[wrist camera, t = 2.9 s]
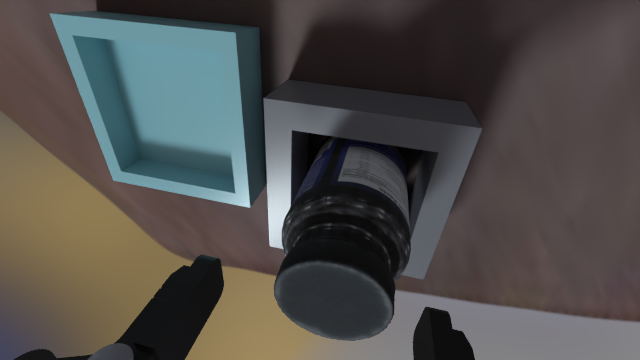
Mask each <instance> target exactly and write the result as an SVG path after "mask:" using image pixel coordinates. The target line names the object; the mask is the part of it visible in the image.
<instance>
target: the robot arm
mask: <svg viewBox="0 0 640 360" xmlns="http://www.w3.org/2000/svg"><path fill="white" fill-rule="evenodd" d="M223 287H224V280H223V273H222V266H221V260H220V259H219V258H214V257H210V256H206V255H200V256H198V257H197V258H196V260H195V261H194V262H193V264H192V265H191V266H190V267H189V266H185V265H184V266H183V267H181V268H180V269H178V270H177V271H175V272H174V273H172V274H171V275H170V276H169V278H168V279H167V280H166V281H165V283H164V284H163V285H162V288H161V289H159V290H158V292H157V293H156V294H155V295H154V298H153V299H151V300H150V302H149V303H148V304H147V306H146V307H145V308H144V309H143V310H142V312H141V313H140V314H139V315H138V317H137V318H136V319H135V320H134V322H133V323H132V324H131V325H130V327H129V328H128V329H127V331H126V332H125V333H124V334H123V335H122V337H121V338H120V339H119V340H118V341H117V342H115V343H114V344H111V345H108V346H105V347H103V348H102V349H100V350H98V351H97V352H95V353H94V354H93V355H86V356H76V357H65V358H56V357H55V356H54V354H53V353H52V352H51V351H49V350H46V349H38V350H33V351H30V352H27V353H25V354H23V355H21V356H19V357H17V358H16V359H14V360H185V358H186V356H187V355H188V353H189V351H190V349H191V348H192V346H193V344H194V342H195V341H196V339H197V337H198V335H199V334H200V332H201V330H202V328H203V327H204V325H205V323H206V322H207V319H208V318H209V316H210V315H211V313H212V311H213V309H214V307H215V306H216V304H217V302H218V301H219V298H220V297H221V294H222V291H223ZM413 355H414V360H475V358H474V354H473V349H472V347H471V345H470V343H469V342H468V340H467V338H466V337H465V335H464V333H463V332H462V331H458V330H454V329H452V324H451V318H450V315H449V313H448V312H447V311H443V310H439V309H435V308H430V307H425V309H424V311H423V313H422V315H421V317H420V320H419V322H418V324H417V326H416V329H415V331H414V337H413Z"/></svg>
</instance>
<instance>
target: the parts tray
mask: <svg viewBox="0 0 640 360" xmlns="http://www.w3.org/2000/svg"><path fill="white" fill-rule="evenodd" d="M50 16H51V18H52V21H53V24H54V26H55V29H56V31H57V34H58V37H59V39H60V42H61V44H62V47H63V50H64V52H65V55H66V58H67V60H68V63H69V65H70V68H71V71H72V73H73V76H74V78H75V81H76V84H77V86H78V89H79V92H80V94H81V97H82V99H83V102H84V105H85V107H86V110H87V113H88V115H89V118H90V120H91V123H92V126H93V128H94V131H95V133H96V136H97V139H98V141H99V144H100V147H101V149H102V152H103V154H104V157H105V160H106V162H107V165H108V168H109V170H110V173H111V175H112V178H113V180H114V181H119V182H124V183H129V184H134V185H139V186H144V187H149V188H154V189H159V190H164V191H169V192H174V193H179V194H184V195H189V196H194V197H199V198H204V199H209V200H214V201H219V202H224V203H229V204H234V205H239V206H244V207H249V208H250V207H251V206H252V204H253V203H254V201H255V200H256V199H257V197H258V196H259V194H260V193H261V191H262V190H263V189H264V187H265V186H266V170H265V147H264V124H263V101H262V78H261V55H260V33H259V27H253V26H243V25H232V24H222V23H212V22H202V21H192V20H182V19H172V18H162V17H152V16H142V15H132V14H122V13H112V12H102V11H85V12H66V13H50Z"/></svg>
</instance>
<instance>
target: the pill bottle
mask: <svg viewBox="0 0 640 360" xmlns="http://www.w3.org/2000/svg"><path fill="white" fill-rule="evenodd" d="M282 246H283V249H284V252H285V256H286V257H285V259H284V260H283V262H282V264H281V266H280V270H279V272H278V274H277V277H276V280H275V284H274V295H275V299H276V301H277V303H278V306H279V307H280V308H281V310H282V312H283V313H285V315H286V316H287V317H288V318H290V320H292V321H293V322H295V323H296V324H297V325H299V326H300V327H302V328H304V329H306V330H307V331H310V332H312V333H314V334H316V335H320V336H322V337H326V338H331V339H337V340H348V341H349V340H351V341H355V340H360V339H365V338H370V337H372V336H375V335H377V334H379V333H380V332H382V331H383V330H384V329H385V328H387V326H388V324H389V323H390V322H391V320H392V318H393V315H394V295H395V283H394V282H396V280H397V279H398V278H399V277H400V276H401V275H402V274H403V272H404V270H405V268H406V266H407V264H408V262H409V257H410V251H411V242H410V226H409V211H408V193H407V177H406V164H405V160H404V157H403V154H402V152H401V150H400V148H399V147H398V146H392V145H386V144H379V143H373V142H366V141H360V140H353V139H347V138H340V137H334V136H332V137H330V138H329V139H328V140H327V141H326V142H325V143H324V144H323V145H322V147H321V148H320V150H319V152H318V154H317V156H316V158H315V160H314V162H313V164H312V166H311V168H310V170H309V172H308V174H307V176H306V178H305V179H304V181H303V183H302V186H301V187H300V189H299V191H298V194H297V196H296V198H295V200H294V202H293V204H292V206H291V207H290V209H289V211H288V213H287V215H286V217H285V219H284V223H283V227H282Z"/></svg>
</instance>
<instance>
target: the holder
mask: <svg viewBox="0 0 640 360" xmlns="http://www.w3.org/2000/svg"><path fill="white" fill-rule="evenodd" d="M264 121H265V145H266V169H267V193H268V218H269V242H270V246H272V247H276V248H281V249H283V246H282V227H283V223H284V219H285V217H286V215H287V213H288V211H289V209H290V207H291V206H292V204H293V202H294V200H295V198H296V196H297V194H298V191H299V189H300V187H301V186H302V183H303V181H304V179H305V178H306V176H307V168H308V146H309V133H314V134H321V135H327V136H334V137H340V138H347V139H353V140H360V141H366V142H373V143H379V144H386V145H392V146H399V147H405V148H412V149H419V150H423V154H422V157H421V161H420V164H419V168H418V171H417V175H416V178H415V182H414V185H413V189H412V192H411V196H410V199H409V203H408V211H409V226H410V242H411V251H410V257H409V262H408V264H407V266H406V268H405V270H404V272H403V274H402V275H404V276H409V277H414V278H418V279H424V277H425V274H426V271H427V269H428V266H429V264H430V261H431V259H432V256H433V254H434V251H435V248H436V246H437V243H438V241H439V238H440V236H441V233H442V231H443V228H444V225H445V223H446V220H447V218H448V215H449V213H450V210H451V208H452V205H453V202H454V200H455V197H456V195H457V192H458V190H459V187H460V184H461V182H462V179H463V177H464V174H465V172H466V169H467V167H468V164H469V161H470V159H471V156H472V154H473V151H474V149H475V146H476V144H477V141H478V138H479V136H480V133H481V131H482V127H481V125H480V124H479V122H478V121H477V119H476V117H475V116H474V114H473V113H472V111H471V109H470V108H469V106H468V105H467V103H466V102H462V101H455V100H447V99H439V98H431V97H423V96H415V95H407V94H399V93H391V92H383V91H375V90H367V89H359V88H351V87H344V86H336V85H328V84H320V83H312V82H304V81H296V80H287V81H285V82H284V83H283V84H282V85H280V86H279V87H278V88H276V89H275V90H274V91H272V92H271V93H270V94H268V95H267V96H266V97H265V98H264Z"/></svg>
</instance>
